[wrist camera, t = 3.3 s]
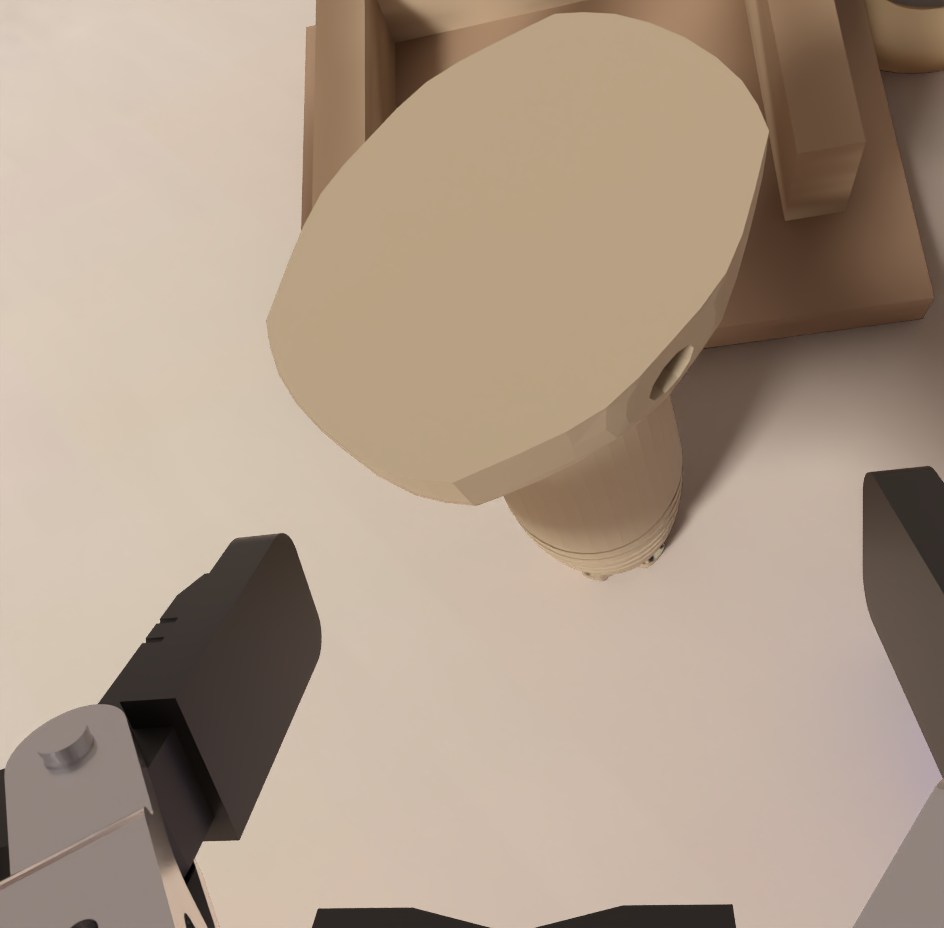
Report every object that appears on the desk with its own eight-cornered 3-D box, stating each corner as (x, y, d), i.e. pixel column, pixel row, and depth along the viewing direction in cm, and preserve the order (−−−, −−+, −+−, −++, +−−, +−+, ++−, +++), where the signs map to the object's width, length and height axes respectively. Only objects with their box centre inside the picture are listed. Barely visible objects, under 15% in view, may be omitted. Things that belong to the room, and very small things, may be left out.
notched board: (833, -64, 28) (857, -194, 24) (922, 318, 24) (969, 235, 20) (319, 52, 32) (268, -44, 28) (313, 401, 27) (251, 345, 24)
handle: (757, 493, 23) (860, 129, 9) (602, 673, 23) (470, 567, 9) (619, 392, 25) (536, -40, 11) (473, 557, 25) (197, 318, 11)
